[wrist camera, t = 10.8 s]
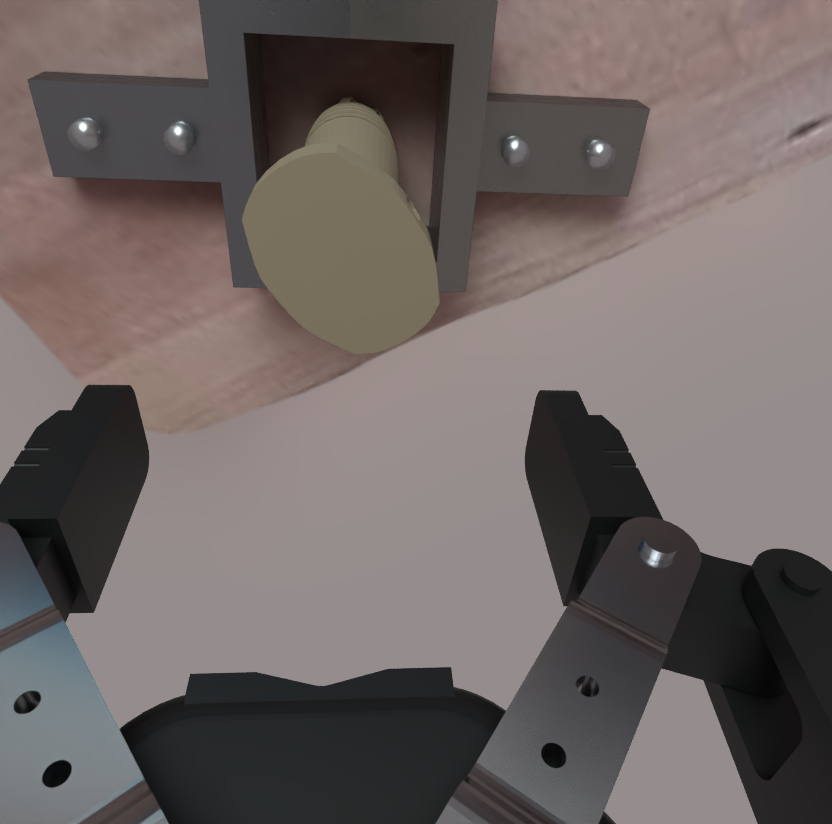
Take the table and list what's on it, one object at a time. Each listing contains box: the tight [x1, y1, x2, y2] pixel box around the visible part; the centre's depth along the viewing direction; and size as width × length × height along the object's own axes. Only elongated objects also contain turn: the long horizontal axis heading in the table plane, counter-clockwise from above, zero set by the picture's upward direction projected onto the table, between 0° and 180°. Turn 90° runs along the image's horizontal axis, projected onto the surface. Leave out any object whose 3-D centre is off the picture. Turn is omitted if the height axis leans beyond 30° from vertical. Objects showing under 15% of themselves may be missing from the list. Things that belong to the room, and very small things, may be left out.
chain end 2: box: [350, 0, 650, 292], centre depth 30 cm, size 14×12×4 cm
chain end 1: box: [28, 0, 350, 288], centre depth 29 cm, size 14×12×4 cm
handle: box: [242, 96, 440, 354], centre depth 25 cm, size 5×6×15 cm
